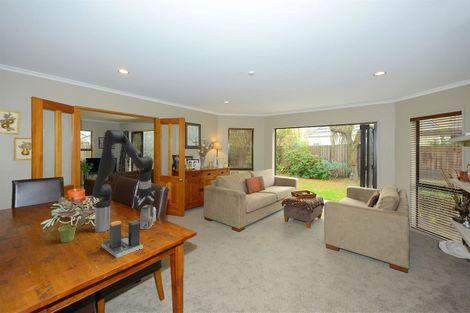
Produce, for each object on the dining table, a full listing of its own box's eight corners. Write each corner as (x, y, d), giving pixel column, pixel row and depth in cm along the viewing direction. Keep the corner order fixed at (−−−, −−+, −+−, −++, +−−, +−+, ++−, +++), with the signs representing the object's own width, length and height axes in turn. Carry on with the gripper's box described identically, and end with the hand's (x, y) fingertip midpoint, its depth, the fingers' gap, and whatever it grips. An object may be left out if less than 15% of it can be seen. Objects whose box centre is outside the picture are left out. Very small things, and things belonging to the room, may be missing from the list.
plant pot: (80, 239, 134) (80, 225, 133) (64, 245, 125) (64, 231, 124) (70, 236, 137) (70, 223, 136) (54, 242, 128) (54, 228, 128)
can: (147, 220, 172) (147, 206, 172) (156, 220, 173) (157, 206, 172) (144, 223, 165) (144, 208, 164) (154, 223, 165) (154, 208, 165)
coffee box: (145, 224, 162) (145, 204, 162) (153, 225, 162) (153, 204, 162) (139, 229, 153) (140, 207, 153) (148, 229, 153) (148, 208, 152)
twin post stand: (101, 246, 124) (102, 220, 124) (127, 238, 136) (127, 214, 135) (116, 258, 112) (116, 228, 111) (142, 248, 124) (143, 221, 123)
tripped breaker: (109, 246, 120) (109, 222, 119) (118, 243, 124) (118, 220, 123) (111, 248, 118) (112, 224, 117) (121, 245, 122) (121, 221, 121)
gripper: (153, 181, 141) (153, 201, 146) (131, 186, 131) (132, 208, 137) (158, 185, 136) (158, 206, 141) (135, 191, 127) (136, 213, 132)
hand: (145, 207), depth 139 cm, fingers open, 8 cm apart
